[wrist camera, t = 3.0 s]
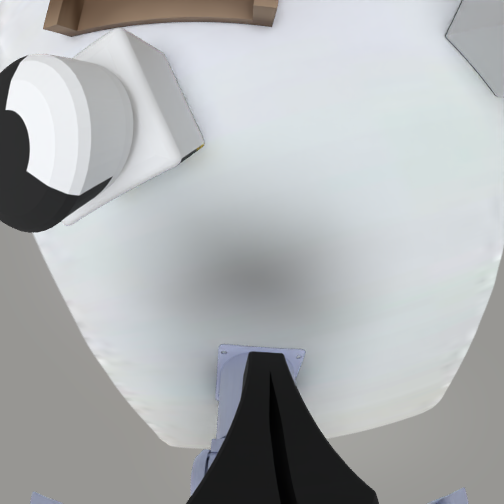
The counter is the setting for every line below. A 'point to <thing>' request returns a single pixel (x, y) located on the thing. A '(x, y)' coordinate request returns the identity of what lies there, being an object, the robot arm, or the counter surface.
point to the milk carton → (481, 39)
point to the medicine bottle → (87, 129)
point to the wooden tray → (152, 13)
